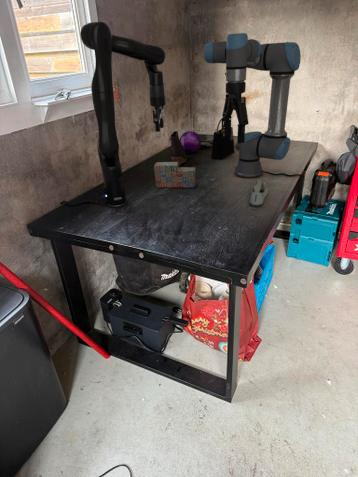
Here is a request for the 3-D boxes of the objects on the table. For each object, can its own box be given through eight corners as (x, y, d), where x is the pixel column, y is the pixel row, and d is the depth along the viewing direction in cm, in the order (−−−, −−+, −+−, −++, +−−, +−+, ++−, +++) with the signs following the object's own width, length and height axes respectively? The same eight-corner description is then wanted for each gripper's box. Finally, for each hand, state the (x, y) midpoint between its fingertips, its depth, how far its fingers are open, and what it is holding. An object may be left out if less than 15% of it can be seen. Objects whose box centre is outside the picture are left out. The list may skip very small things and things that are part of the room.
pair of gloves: (199, 150, 238) (199, 143, 235) (184, 143, 258) (184, 136, 255) (235, 144, 247) (235, 137, 245) (218, 137, 268) (218, 131, 265)
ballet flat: (269, 188, 169) (270, 173, 165) (265, 208, 149) (266, 191, 145) (252, 187, 171) (253, 172, 167) (246, 206, 151) (247, 190, 147)
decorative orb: (204, 151, 235) (204, 129, 228) (194, 156, 225) (193, 134, 217) (186, 149, 243) (186, 128, 235) (175, 154, 232) (174, 132, 224)
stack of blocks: (196, 183, 181) (195, 161, 175) (194, 187, 176) (193, 165, 169) (158, 183, 185) (156, 161, 179) (155, 187, 179) (153, 165, 173)
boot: (189, 157, 225) (188, 126, 215) (182, 168, 205) (180, 135, 195) (176, 157, 227) (175, 126, 217) (168, 168, 206) (166, 135, 196)
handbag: (222, 160, 214) (223, 120, 202) (210, 158, 219) (210, 119, 206) (235, 152, 229) (236, 114, 217) (223, 150, 234) (224, 113, 221)
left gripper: (153, 93, 165) (155, 126, 174) (146, 97, 153) (149, 132, 161) (167, 93, 164) (169, 126, 172) (161, 96, 152) (164, 132, 160)
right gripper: (214, 80, 133) (214, 133, 144) (240, 85, 112) (237, 147, 123) (232, 78, 135) (230, 131, 145) (260, 83, 114) (256, 145, 124)
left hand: (159, 129), depth 167 cm, fingers open, 8 cm apart
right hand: (233, 139), depth 134 cm, fingers open, 13 cm apart
